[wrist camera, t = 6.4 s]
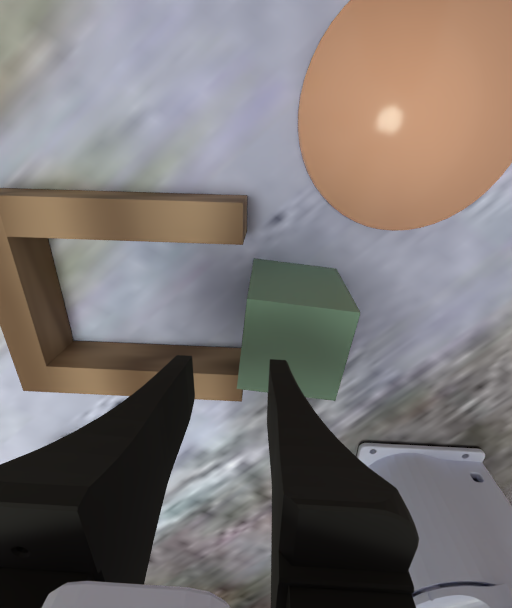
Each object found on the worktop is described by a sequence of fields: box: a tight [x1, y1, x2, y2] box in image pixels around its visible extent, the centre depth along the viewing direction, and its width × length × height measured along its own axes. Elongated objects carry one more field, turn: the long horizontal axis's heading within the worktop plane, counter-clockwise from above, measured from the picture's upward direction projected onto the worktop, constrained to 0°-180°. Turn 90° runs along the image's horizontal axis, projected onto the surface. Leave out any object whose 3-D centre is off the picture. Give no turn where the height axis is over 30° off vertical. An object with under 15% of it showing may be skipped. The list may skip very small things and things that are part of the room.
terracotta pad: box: [298, 0, 512, 230], centre depth 16 cm, size 11×11×1 cm
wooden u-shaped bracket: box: [0, 188, 247, 401], centre depth 19 cm, size 14×12×3 cm
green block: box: [237, 259, 360, 401], centre depth 18 cm, size 5×5×6 cm
